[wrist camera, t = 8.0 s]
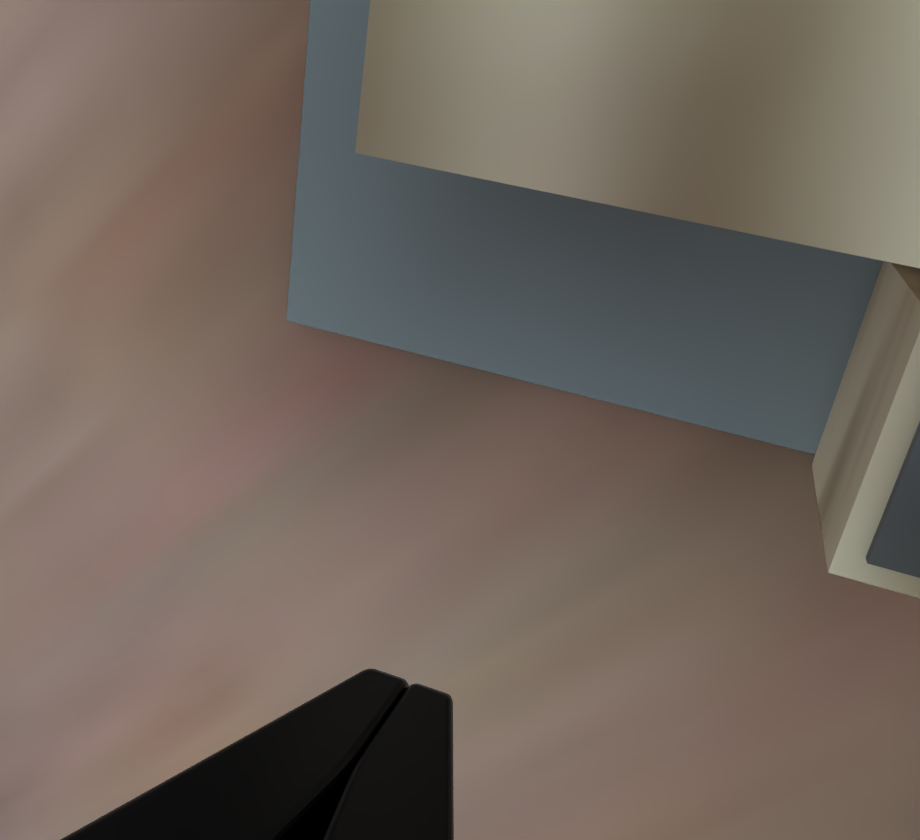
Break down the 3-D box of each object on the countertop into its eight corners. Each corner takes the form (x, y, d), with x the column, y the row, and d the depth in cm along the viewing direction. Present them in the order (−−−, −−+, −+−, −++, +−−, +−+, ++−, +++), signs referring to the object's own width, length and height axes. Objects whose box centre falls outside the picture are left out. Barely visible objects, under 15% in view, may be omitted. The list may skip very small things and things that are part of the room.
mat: (1486, -370, 12) (1509, -385, 12) (1057, 509, 18) (1063, 517, 17) (353, -428, 16) (343, -440, 15) (294, 316, 21) (286, 320, 21)
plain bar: (1172, -14, 14) (1315, -44, 11) (1054, 260, 16) (1141, 313, 12) (464, -108, 17) (386, -157, 13) (431, 138, 18) (355, 152, 15)
